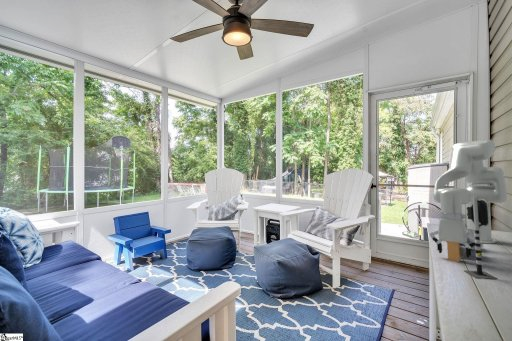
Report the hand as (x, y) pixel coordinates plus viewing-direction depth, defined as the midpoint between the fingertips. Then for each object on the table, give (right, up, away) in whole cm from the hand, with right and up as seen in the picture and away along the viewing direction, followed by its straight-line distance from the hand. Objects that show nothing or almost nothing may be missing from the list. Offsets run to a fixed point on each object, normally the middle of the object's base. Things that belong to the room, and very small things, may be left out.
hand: (453, 254), depth 109 cm
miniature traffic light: (-3, -2, -17) cm, 17 cm away
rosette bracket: (+15, -2, +10) cm, 18 cm away
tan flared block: (0, -3, 0) cm, 2 cm away
